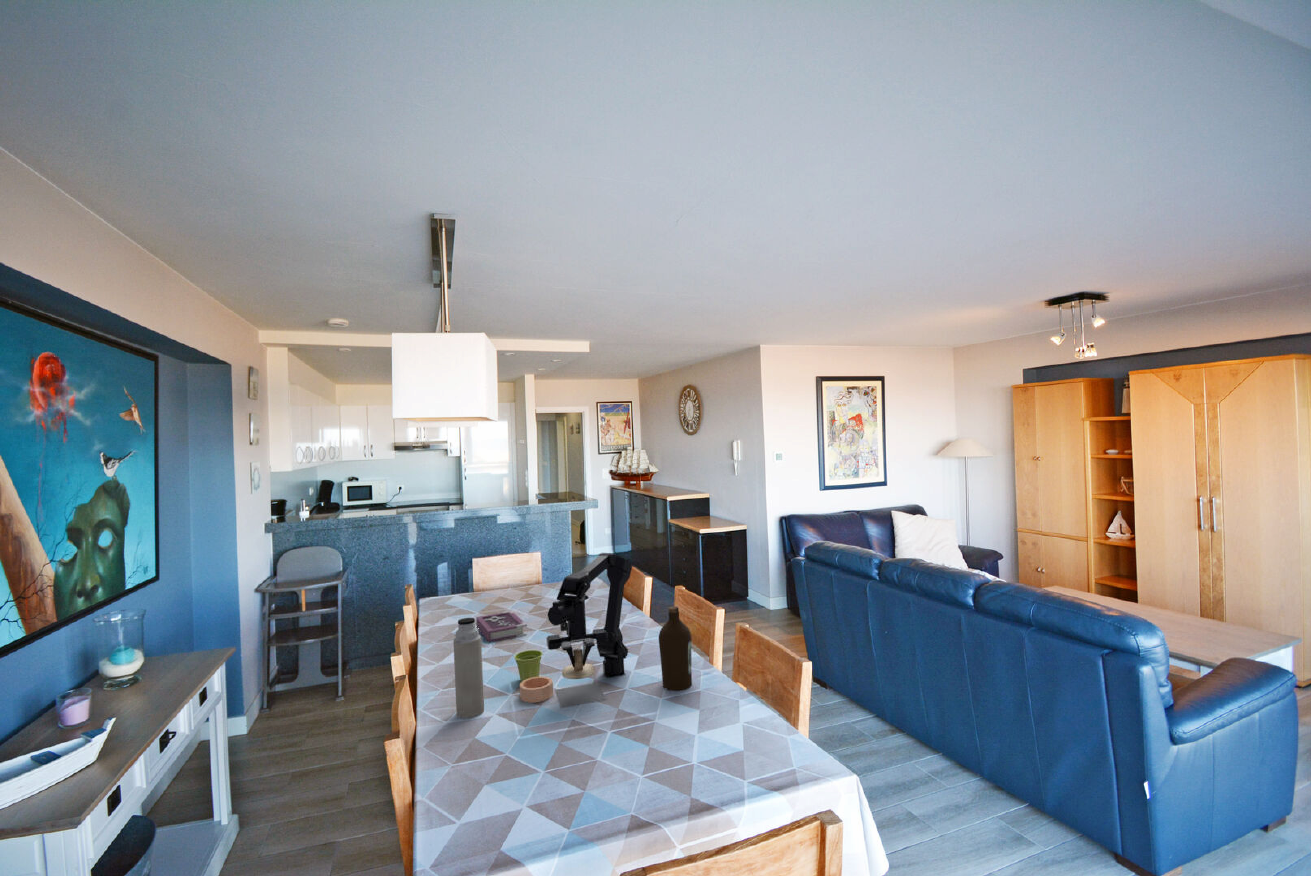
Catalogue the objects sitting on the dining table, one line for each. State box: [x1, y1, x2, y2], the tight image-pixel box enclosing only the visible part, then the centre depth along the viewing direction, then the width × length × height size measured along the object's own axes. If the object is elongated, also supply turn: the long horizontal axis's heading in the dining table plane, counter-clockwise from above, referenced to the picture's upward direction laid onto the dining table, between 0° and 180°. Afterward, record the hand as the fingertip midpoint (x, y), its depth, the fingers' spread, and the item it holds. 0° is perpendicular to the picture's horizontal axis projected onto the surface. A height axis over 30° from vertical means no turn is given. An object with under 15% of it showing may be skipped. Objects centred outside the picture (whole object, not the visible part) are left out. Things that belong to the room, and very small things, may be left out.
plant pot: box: [513, 649, 544, 682], centre depth 200 cm, size 9×9×9 cm
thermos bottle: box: [453, 617, 485, 719], centre depth 178 cm, size 8×8×28 cm
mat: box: [554, 682, 608, 709], centre depth 185 cm, size 14×14×1 cm
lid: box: [561, 648, 596, 680], centre depth 185 cm, size 10×10×7 cm
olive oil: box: [658, 605, 693, 692], centre depth 191 cm, size 11×11×25 cm
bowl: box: [519, 676, 554, 704], centre depth 186 cm, size 10×10×4 cm
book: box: [475, 610, 528, 643], centre depth 258 cm, size 25×16×5 cm, turn 28°
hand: (578, 666), depth 185 cm, fingers closed on lid, 3 cm apart
